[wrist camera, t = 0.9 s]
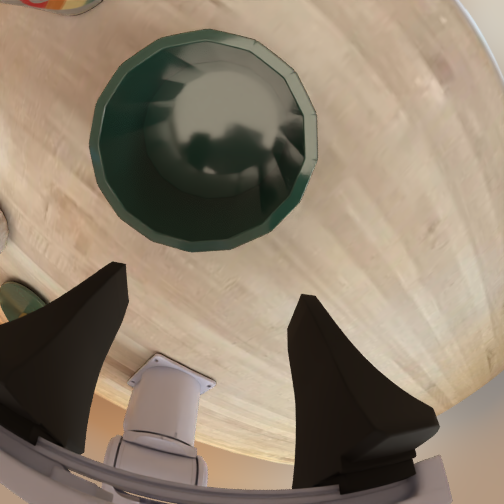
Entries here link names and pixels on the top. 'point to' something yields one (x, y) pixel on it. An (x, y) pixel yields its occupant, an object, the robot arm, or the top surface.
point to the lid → (18, 300)
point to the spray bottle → (57, 5)
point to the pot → (204, 140)
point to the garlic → (3, 232)
